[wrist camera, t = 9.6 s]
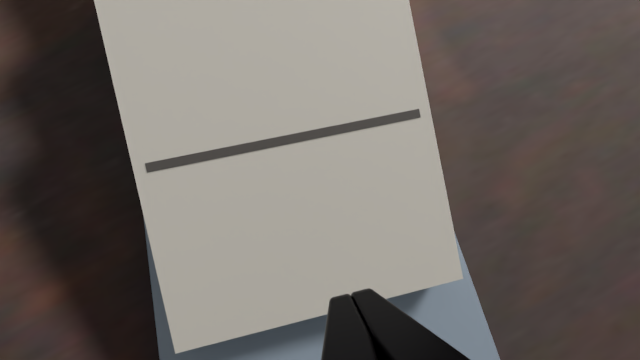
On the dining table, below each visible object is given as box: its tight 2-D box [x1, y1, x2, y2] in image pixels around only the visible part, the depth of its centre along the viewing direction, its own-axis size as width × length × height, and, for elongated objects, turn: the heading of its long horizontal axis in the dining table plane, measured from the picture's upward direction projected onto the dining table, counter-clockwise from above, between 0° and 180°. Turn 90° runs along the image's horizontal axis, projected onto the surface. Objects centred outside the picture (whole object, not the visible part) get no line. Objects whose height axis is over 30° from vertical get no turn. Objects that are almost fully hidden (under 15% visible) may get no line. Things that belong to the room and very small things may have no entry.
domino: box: [94, 0, 463, 354], centre depth 15 cm, size 2×10×12 cm
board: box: [143, 216, 500, 360], centre depth 19 cm, size 25×12×1 cm, turn 14°
